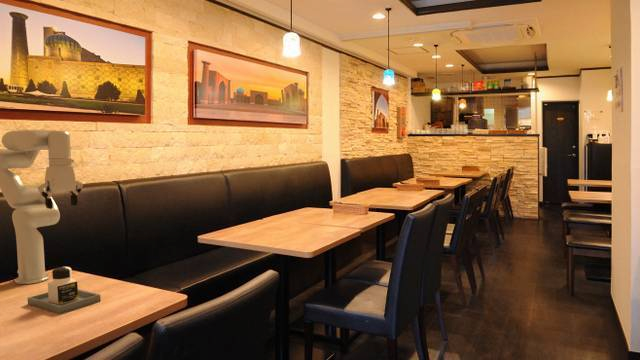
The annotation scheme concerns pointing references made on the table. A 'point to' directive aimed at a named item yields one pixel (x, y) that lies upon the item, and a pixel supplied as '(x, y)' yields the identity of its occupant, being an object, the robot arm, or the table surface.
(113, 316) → the table surface
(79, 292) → the gray tray
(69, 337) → the table surface
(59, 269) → the medicine bottle
